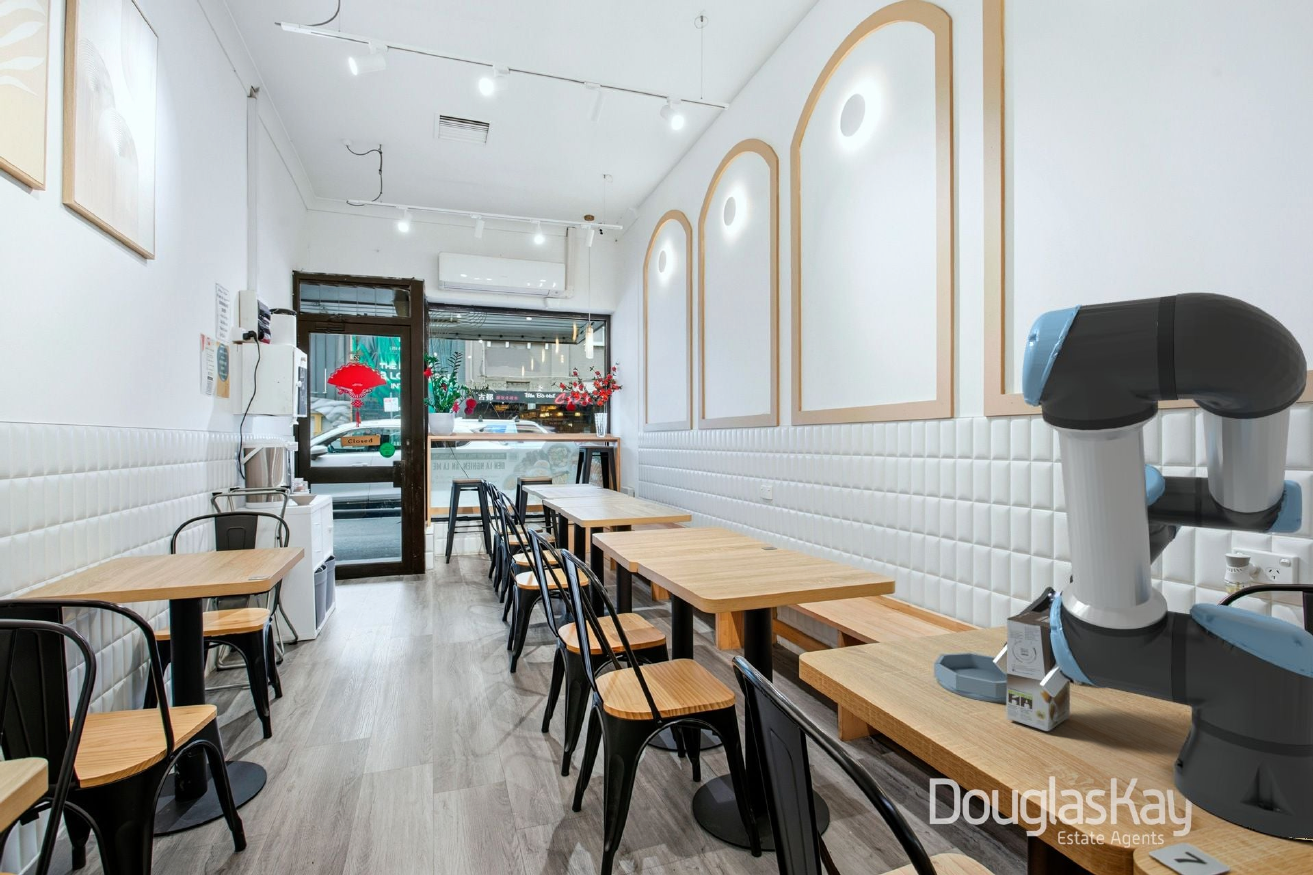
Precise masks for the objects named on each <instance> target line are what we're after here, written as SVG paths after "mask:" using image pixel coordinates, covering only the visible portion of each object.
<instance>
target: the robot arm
mask: <svg viewBox="0 0 1313 875" xmlns="http://www.w3.org/2000/svg"><path fill="white" fill-rule="evenodd" d="M1024 350H1025V351H1024V356H1023V363H1022V375H1021V376H1022V377H1021V388H1022V396H1023V400H1024V402H1025V404H1027V405H1029V406H1033V407H1039V406H1040V407H1041V414H1042V421H1043V422H1044V423H1045V425H1047V426H1049V427H1050V428H1051V429H1054V430H1055V431H1056V432H1058V433H1057V434H1058V443H1059V454H1060V464H1061V474H1062V481H1063V482H1062V484H1063V485H1062V486H1063V493H1064V503H1065V513H1066V514H1065V515H1066V523H1067V534H1068V535H1067V536H1068V544H1069V553H1070V554H1069V555H1070V565H1071V575H1070V578H1069V583H1068V584H1067V585H1066V586H1065V587H1064V588H1063V590H1062V591H1057V590H1054V588H1053V587H1052V586H1048V587H1046V588H1045V589H1044V591H1042V594H1041V595H1040V596H1038V598H1037V599H1035V600H1034V601H1033V602H1032V603H1030V604H1029V605H1028V606H1027V607H1026V608H1025V609H1023V610H1022V611H1021V612H1019V614H1021V613H1024V612H1027V611H1034V612H1039V613H1047V614H1050V627H1051V634H1050V635H1051V643H1052V648H1053V652H1054V656H1055V659H1056V661H1057V663H1056V664H1055V666H1054V667H1053V668H1052V669H1051V670H1050V672H1049V673H1048V674H1047V675H1046V677H1045V678H1044V679H1043V680H1042V682H1041V683H1040V685H1041V686H1042V687H1043V688H1044V690H1045V691H1046V692H1047V693H1048V694H1049V695H1050V696H1052V697H1055V696H1056V695H1057V694H1058V692H1059V691H1060V690H1061V689H1062V687H1063V686H1064V685H1065V684H1066V683H1067V681H1068V680H1070V682H1071V681H1073V680H1072V679H1075V680H1078V681H1081V682H1082V683H1085V684H1089V685H1091V686H1094V687H1098V688H1102V689H1103V688H1107V689H1112V690H1116V691H1120V692H1125V693H1130V694H1134V695H1140V696H1143V697H1148V698H1152V699H1156V700H1162V701H1166V702H1170V703H1174V704H1179V705H1183V706H1188V707H1190V708H1191V722H1190V724H1191V725H1190V729H1189V731H1188V733H1187V736H1186V737H1185V740H1184V742H1183V744H1182V746H1181V748H1180V750H1179V753H1178V756H1177V758H1176V759H1175V762H1174V766H1173V783H1174V786H1175V788H1176V789H1177V791H1178V792H1179V793H1180V794H1182V795H1183V797H1185V799H1187V800H1189V801H1190V802H1191V803H1193V804H1195V805H1196V806H1197V807H1199V808H1201V809H1203V810H1205V811H1207V812H1209V813H1211V814H1213V815H1215V816H1217V817H1219V818H1221V819H1224V820H1227V821H1229V822H1231V823H1233V824H1236V825H1240V826H1241V825H1242V826H1241V827H1245V828H1247V827H1249V828H1248V829H1250V828H1251V829H1250V830H1253V829H1255V830H1254V831H1257V832H1261V833H1264V834H1267V835H1272V836H1275V837H1280V836H1281V837H1280V838H1285V837H1292V838H1305V839H1306V838H1307V839H1313V635H1312V633H1310V632H1308V631H1307V630H1305V629H1304V628H1302V627H1300V626H1299V625H1297V624H1293V623H1292V622H1289V621H1286V620H1283V619H1281V618H1278V617H1275V616H1274V617H1273V616H1270V615H1267V614H1264V613H1260V612H1256V611H1252V610H1248V609H1243V608H1239V607H1234V606H1229V605H1224V604H1223V605H1222V604H1213V603H1207V602H1206V603H1205V602H1204V603H1203V602H1201V603H1200V602H1199V603H1195V604H1193V605H1192V606H1191V608H1190V609H1189V613H1184V612H1177V611H1172V610H1168V608H1169V607H1168V606H1169V605H1168V601H1167V600H1166V598H1165V596H1164V595H1163V594H1162V593H1161V592H1160V591H1159V590H1158V589H1157V588H1155V587H1153V585H1152V568H1151V567H1152V565H1153V563H1154V562H1155V561H1156V560H1157V558H1158V557H1159V556H1160V555H1161V554H1162V553H1163V552H1164V550H1165V549H1166V548H1167V547H1168V545H1169V544H1170V543H1171V542H1173V540H1175V539H1176V537H1177V535H1178V533H1179V531H1180V529H1182V527H1189V528H1191V527H1192V528H1205V529H1215V530H1216V529H1219V530H1228V531H1229V530H1230V531H1239V532H1240V531H1242V532H1253V533H1255V532H1256V533H1260V534H1269V533H1277V534H1278V533H1279V534H1280V533H1281V534H1293V533H1296V532H1298V531H1300V530H1301V528H1302V522H1303V521H1302V519H1303V518H1302V517H1303V494H1302V491H1303V490H1302V486H1301V485H1300V484H1299V482H1297V481H1295V480H1290V479H1285V474H1286V465H1287V464H1286V462H1287V450H1288V440H1289V430H1290V429H1289V428H1290V418H1291V417H1290V416H1291V407H1292V406H1294V405H1295V404H1296V403H1297V402H1298V401H1299V400H1300V398H1302V396H1303V394H1304V392H1305V390H1306V385H1307V378H1308V365H1307V363H1308V362H1307V360H1306V357H1305V354H1304V350H1303V349H1302V347H1301V345H1300V343H1299V342H1298V341H1297V338H1296V337H1295V335H1294V334H1293V333H1292V332H1291V331H1290V330H1289V329H1288V328H1287V327H1285V325H1284V324H1282V322H1280V320H1278V319H1277V318H1275V317H1274V316H1273V315H1271V314H1269V313H1268V312H1266V311H1265V310H1263V309H1261V308H1260V307H1258V306H1256V305H1254V304H1251V303H1249V302H1247V301H1244V300H1242V299H1239V298H1236V297H1232V296H1229V295H1224V294H1219V293H1214V292H1186V293H1182V292H1181V293H1177V294H1174V295H1173V294H1172V295H1167V296H1155V297H1147V298H1139V299H1129V300H1122V301H1113V302H1102V303H1093V304H1085V305H1082V304H1078V305H1076V306H1074V307H1067V308H1063V309H1056V310H1051V311H1047V312H1044V313H1043V314H1041V315H1040V316H1038V317H1037V319H1036V320H1034V322H1033V324H1032V326H1031V328H1030V330H1029V333H1028V335H1027V340H1026V345H1025V349H1024ZM1179 400H1192V401H1193V402H1194V403H1195V404H1196V405H1197V406H1198V407H1199V408H1200V409H1201V411H1202V421H1203V422H1202V423H1203V424H1202V425H1203V434H1204V447H1205V457H1206V460H1205V461H1206V467H1207V468H1206V470H1207V477H1203V476H1175V475H1173V476H1171V475H1163V474H1162V472H1161V471H1160V470H1159V469H1158V468H1157V467H1155V466H1153V465H1150V464H1147V463H1146V459H1145V456H1146V455H1145V440H1144V438H1145V436H1144V427H1145V426H1146V425H1147V424H1149V423H1150V422H1151V421H1152V420H1153V419H1155V418H1156V417H1157V415H1158V414H1159V402H1163V401H1179ZM995 657H996V658H995V659H994V660H993V662H994V663H995V664H996V666H997V667H998V668H999V669H1000V670H1001V671H1002V672H1004V673H1007V641H1006V642H1005V643H1003V648H1002V649H1001V650H1000V651H999V653H998V654H997V656H995Z"/></svg>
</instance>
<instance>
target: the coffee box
mask: <svg viewBox="0 0 1313 875" xmlns="http://www.w3.org/2000/svg"><path fill="white" fill-rule="evenodd" d="M1020 613H1021V612H1020ZM1020 613H1018V614H1017V615H1013V616H1010V617H1008V618H1006V621H1007V622H1006V626H1007V627H1006V628H1007V630H1006V632H1007V633H1006V642H1007V698H1006V699H1007V701H1006V702H1007V703H1006V711H1005V712H1006V713H1005V714H1006V716H1005V717H1006V719H1009V720H1011V721H1014V722H1016V723H1021V724H1023V725H1027V726H1029V727H1032V728H1036V729H1038V730H1041V731H1044V732H1050V731H1051V730H1053V729H1054V728H1055V727H1057V726H1059V725H1060V724H1061V723H1063V722H1064V721H1066V720H1067V719H1069V718H1070V714H1071V712H1070V711H1071V710H1070V709H1071V708H1070V706H1071V703H1070V702H1071V701H1070V700H1071V681H1070V680H1068V681H1067V683H1066V684H1065V685H1064V686H1063V687H1062V689H1061V690H1060V691H1059V692H1058V694H1057V695H1056V696H1055V697H1052V696H1050V695H1049V694H1048V693H1047V692H1046V691H1045V690H1044V688H1043V687H1042V686H1041V685H1040V683H1041V682H1042V680H1043V679H1044V678H1045V677H1046V675H1047V674H1048V673H1049V672H1050V670H1051V669H1052V668H1053V667H1054V666H1055V664H1056V663H1057V661H1056V659H1055V656H1054V652H1053V648H1052V643H1051V635H1050V634H1051V627H1050V614H1047V613H1039V612H1034V611H1027V612H1024V613H1021V614H1020Z"/></svg>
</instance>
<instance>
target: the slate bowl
mask: <svg viewBox="0 0 1313 875" xmlns="http://www.w3.org/2000/svg"><path fill="white" fill-rule="evenodd" d="M996 657H997V656H992V655H991V656H990V655H985V654H981V653H974V652H955V653H940V654H939V656H938V657H937V658H936V660H935V661H934V663H933V664H934V665H933V667H934V668H933V670H934V671H933V674H934V675H933V677H934V678H935V679H936V682H937V683H938V684H939V686H941V688H944V689H945V690H947V691H949V692H951V693H953V694H956V695H957V696H958V695H959V696H961V697H965V698H968V699H971V700H972V699H973V700H977V701H982V702H986V703H987V702H989V703H996V704H997V703H998V704H999V703H1001V704H1003V703H1004V704H1007V702H1006V701H1007V699H1006V698H1007V673H1004V672H1002V671H1001V670H1000V669H999V668H998V667H997V666H996V664H995V663H994V662H993V660H994V659H995V658H996Z"/></svg>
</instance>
